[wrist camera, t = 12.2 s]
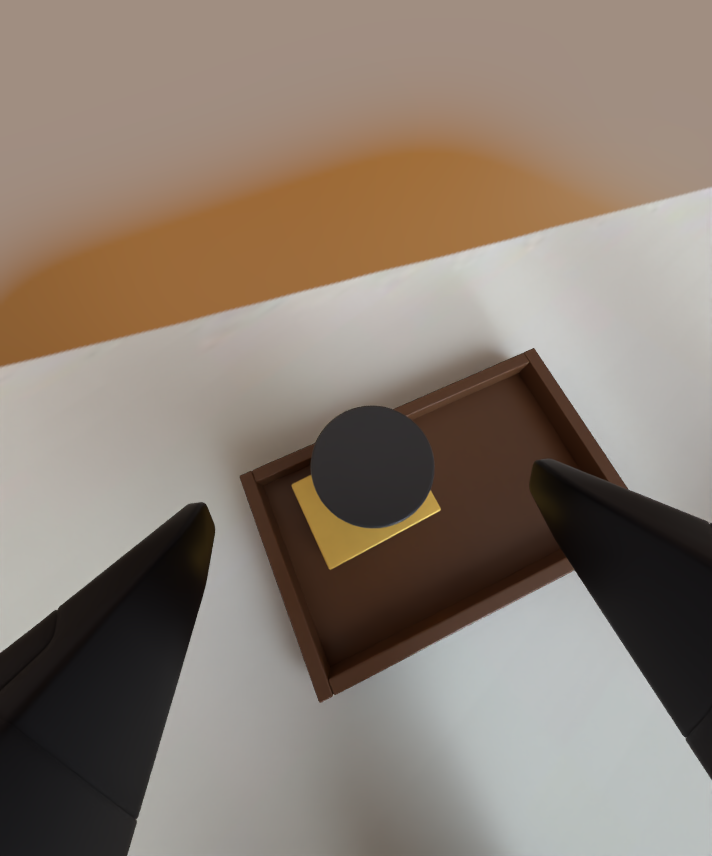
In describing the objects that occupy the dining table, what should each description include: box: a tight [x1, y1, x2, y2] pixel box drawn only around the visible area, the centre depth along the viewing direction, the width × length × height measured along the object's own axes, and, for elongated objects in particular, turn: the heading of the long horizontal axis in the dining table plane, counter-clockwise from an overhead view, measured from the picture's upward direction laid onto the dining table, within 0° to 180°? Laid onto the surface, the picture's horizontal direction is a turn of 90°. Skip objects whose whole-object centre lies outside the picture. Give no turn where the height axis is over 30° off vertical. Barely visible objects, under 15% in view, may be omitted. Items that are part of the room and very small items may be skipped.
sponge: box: [292, 406, 441, 570], centre depth 13 cm, size 6×4×12 cm
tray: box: [240, 348, 629, 703], centre depth 18 cm, size 18×11×2 cm, turn 114°
